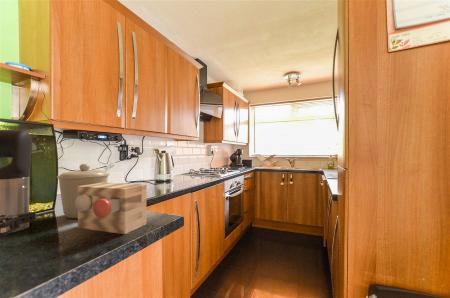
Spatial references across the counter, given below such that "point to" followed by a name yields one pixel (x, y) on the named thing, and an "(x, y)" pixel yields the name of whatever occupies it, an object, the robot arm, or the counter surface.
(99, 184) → the block
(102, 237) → the counter surface
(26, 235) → the counter surface
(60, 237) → the counter surface
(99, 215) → the red plug
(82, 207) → the beige plug
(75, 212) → the canister
